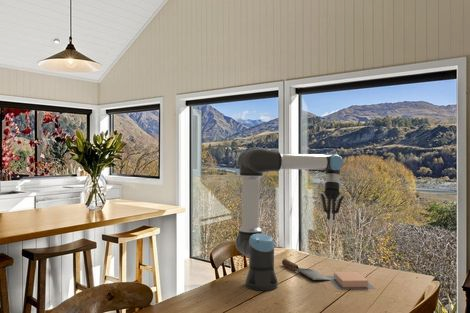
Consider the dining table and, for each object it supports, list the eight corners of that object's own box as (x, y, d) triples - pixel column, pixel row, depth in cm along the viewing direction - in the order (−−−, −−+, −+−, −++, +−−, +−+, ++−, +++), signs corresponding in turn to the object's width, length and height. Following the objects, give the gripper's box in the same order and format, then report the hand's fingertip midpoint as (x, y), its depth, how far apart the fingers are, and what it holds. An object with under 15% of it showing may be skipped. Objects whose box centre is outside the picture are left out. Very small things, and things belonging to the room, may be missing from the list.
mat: (337, 290, 179) (337, 289, 179) (325, 276, 199) (325, 275, 199) (375, 289, 179) (375, 288, 179) (360, 276, 199) (360, 275, 199)
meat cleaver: (332, 279, 192) (332, 271, 192) (313, 283, 188) (312, 275, 188) (298, 263, 223) (298, 256, 223) (280, 266, 219) (280, 258, 219)
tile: (333, 278, 194) (342, 288, 180) (333, 271, 194) (342, 280, 180) (357, 278, 194) (368, 287, 180) (357, 271, 194) (368, 280, 180)
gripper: (341, 184, 217) (340, 227, 211) (318, 182, 216) (316, 225, 211) (346, 182, 209) (344, 227, 204) (322, 180, 209) (320, 224, 203)
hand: (330, 226), depth 207 cm, fingers closed
